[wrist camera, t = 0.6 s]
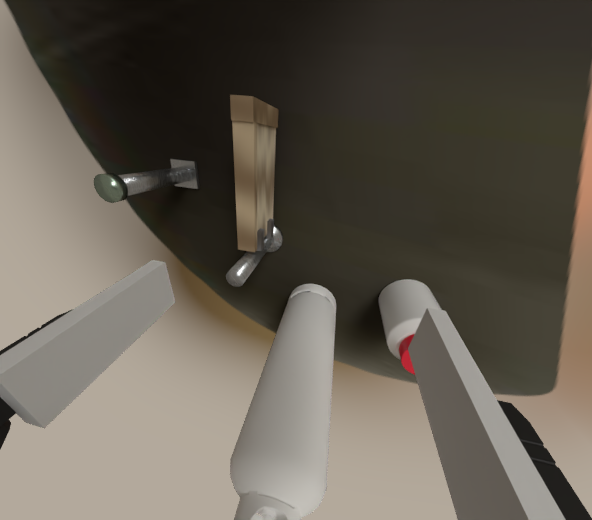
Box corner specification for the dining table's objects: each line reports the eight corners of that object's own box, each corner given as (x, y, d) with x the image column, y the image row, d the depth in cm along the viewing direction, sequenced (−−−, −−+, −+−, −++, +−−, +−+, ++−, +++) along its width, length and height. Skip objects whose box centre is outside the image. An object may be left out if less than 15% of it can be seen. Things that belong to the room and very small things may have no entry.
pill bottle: (433, 317, 35) (467, 383, 25) (381, 321, 37) (394, 383, 27) (432, 275, 32) (469, 332, 22) (375, 282, 34) (387, 337, 24)
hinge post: (255, 221, 33) (213, 256, 23) (283, 225, 33) (254, 264, 22) (255, 248, 35) (217, 291, 25) (282, 252, 35) (254, 299, 24)
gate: (276, 232, 32) (257, 256, 25) (260, 229, 32) (237, 253, 25) (281, 109, 25) (257, 96, 18) (261, 108, 25) (230, 94, 18)
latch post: (173, 158, 31) (83, 166, 20) (196, 161, 31) (117, 170, 20) (177, 185, 33) (96, 205, 22) (200, 188, 32) (128, 210, 22)
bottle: (284, 312, 40) (191, 572, 16) (296, 277, 36) (196, 550, 12) (326, 327, 40) (298, 616, 16) (343, 293, 36) (340, 609, 12)
